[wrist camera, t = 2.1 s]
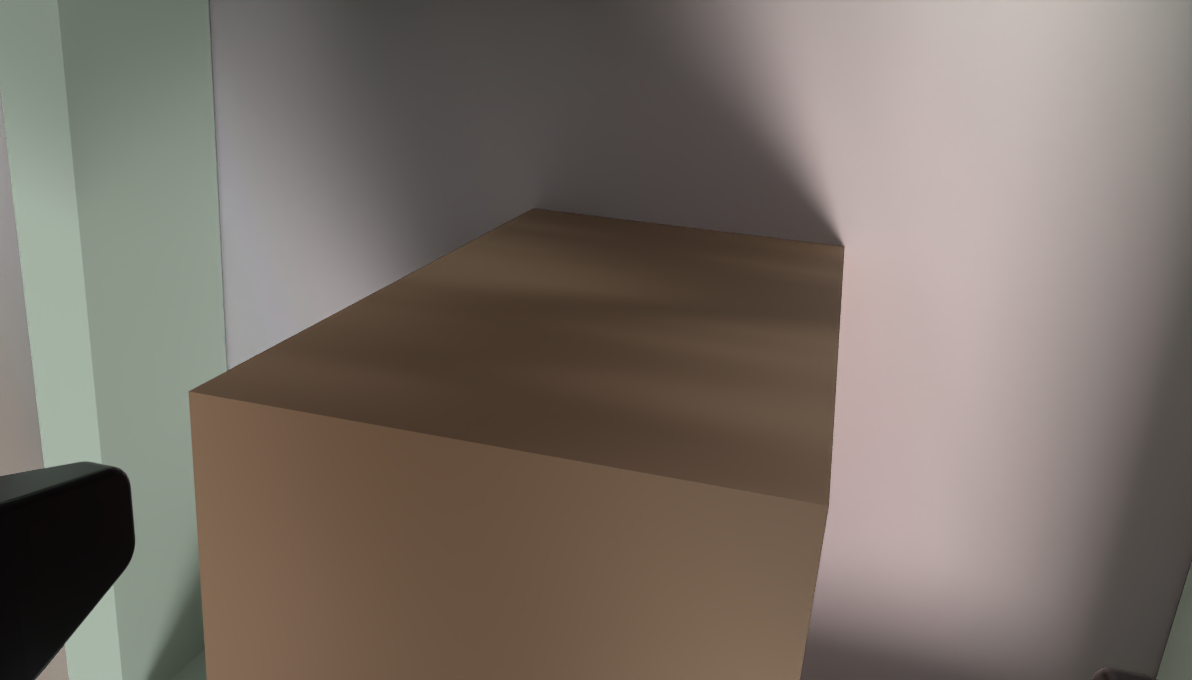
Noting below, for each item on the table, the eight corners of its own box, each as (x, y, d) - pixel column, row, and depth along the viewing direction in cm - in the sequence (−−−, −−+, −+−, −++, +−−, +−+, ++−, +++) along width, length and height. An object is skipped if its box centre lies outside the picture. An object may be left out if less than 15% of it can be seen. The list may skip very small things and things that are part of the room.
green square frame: (1502, -110, 11) (1733, -162, 8) (1168, 887, 15) (1239, 1082, 12) (140, -165, 14) (-36, -213, 11) (194, 650, 19) (78, 758, 16)
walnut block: (844, 246, 13) (829, 505, 6) (799, 535, 15) (741, 1033, 7) (533, 208, 14) (187, 391, 7) (518, 483, 16) (219, 878, 8)
